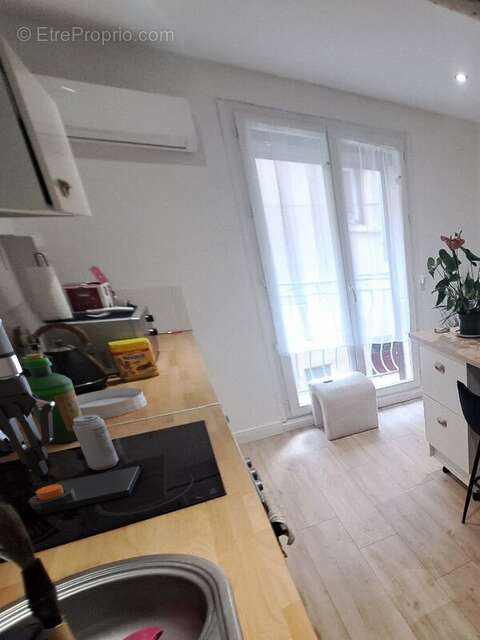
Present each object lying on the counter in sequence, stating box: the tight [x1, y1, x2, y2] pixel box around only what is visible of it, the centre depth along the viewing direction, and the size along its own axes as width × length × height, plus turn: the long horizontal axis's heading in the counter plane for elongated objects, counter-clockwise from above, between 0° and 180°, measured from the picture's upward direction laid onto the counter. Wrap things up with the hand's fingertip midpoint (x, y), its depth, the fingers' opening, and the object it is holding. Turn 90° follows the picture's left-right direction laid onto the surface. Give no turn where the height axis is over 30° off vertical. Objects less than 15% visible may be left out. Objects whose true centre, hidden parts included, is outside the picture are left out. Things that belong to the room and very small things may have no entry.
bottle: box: [23, 353, 82, 445], centre depth 127 cm, size 11×11×28 cm
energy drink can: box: [72, 414, 120, 471], centre depth 114 cm, size 6×6×15 cm
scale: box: [28, 465, 142, 516], centre depth 104 cm, size 17×15×4 cm
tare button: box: [35, 483, 64, 500], centre depth 97 cm, size 4×4×2 cm
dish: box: [76, 387, 147, 420], centre depth 154 cm, size 22×22×5 cm
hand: (41, 473), depth 95 cm, fingers closed
